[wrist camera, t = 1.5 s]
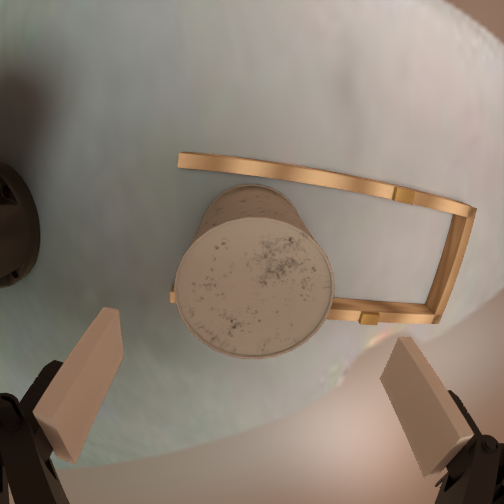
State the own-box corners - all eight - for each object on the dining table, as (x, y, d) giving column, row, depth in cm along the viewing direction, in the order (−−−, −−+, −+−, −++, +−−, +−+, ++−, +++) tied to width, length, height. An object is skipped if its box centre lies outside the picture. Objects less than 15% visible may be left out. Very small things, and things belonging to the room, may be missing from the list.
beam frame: (175, 290, 32) (168, 305, 29) (184, 151, 27) (177, 153, 24) (429, 313, 34) (440, 326, 31) (463, 203, 29) (480, 209, 26)
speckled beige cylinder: (311, 263, 31) (346, 335, 20) (221, 290, 32) (209, 372, 20) (285, 170, 28) (313, 194, 16) (186, 202, 29) (148, 248, 17)
